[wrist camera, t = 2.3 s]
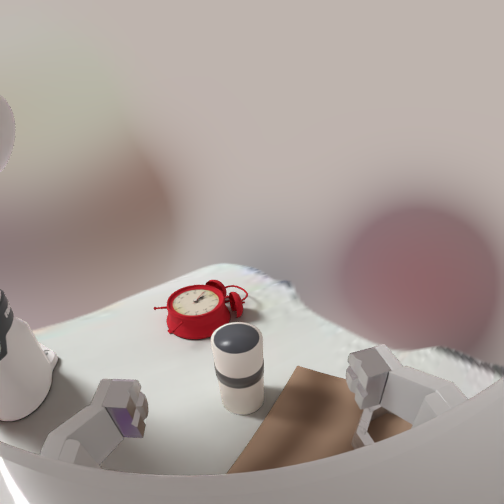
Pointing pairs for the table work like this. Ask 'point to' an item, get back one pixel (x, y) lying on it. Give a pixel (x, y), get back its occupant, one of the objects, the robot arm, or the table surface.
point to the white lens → (239, 366)
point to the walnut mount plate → (311, 424)
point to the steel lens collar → (361, 434)
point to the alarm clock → (201, 309)
